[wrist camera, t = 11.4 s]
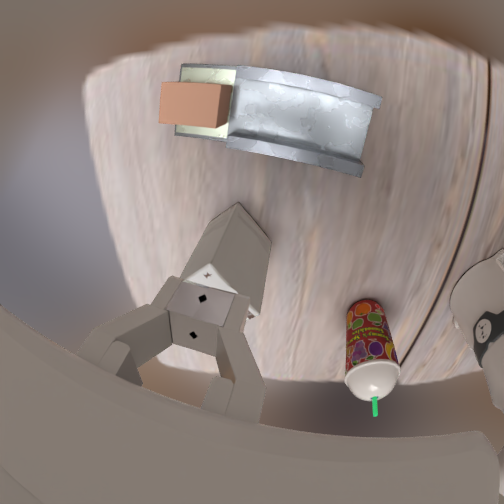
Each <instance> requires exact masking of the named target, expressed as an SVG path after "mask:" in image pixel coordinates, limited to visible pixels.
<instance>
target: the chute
mask: <svg viewBox="0 0 504 504" xmlns="http://www.w3.org/2000/svg"><path fill="white" fill-rule="evenodd" d="M179 82H198V83H214V84H225V85H232V88H231V95H230V103H229V110H228V117H227V124H225V125H222V126H220V127H218V128H216V129H214V128H206V127H197V126H187V125H176V124H175V136H185V137H193V138H202V139H209V140H217V141H224V142H226V148H231V149H237V150H243V151H248V152H254V153H259V154H265V155H270V156H275V157H280V158H284V159H289V160H293V161H298V162H302V163H307V164H311V165H315V166H319V167H323V168H327V169H331V170H335V171H338V172H342V173H346V174H349V175H353V176H356V177H360V178H361V176H362V173H363V169H364V165H363V163H362V162H361V161H360V157H361V154H362V150H363V146H364V143H365V139H366V135H367V131H368V127H369V123H370V119H371V115H372V111H373V107H374V108H377V109H380V105H381V100H382V97H381V96H378V95H375V94H372V93H369V92H366V91H363V90H360V89H356V88H353V87H350V86H346V85H343V84H339V83H335V82H331V81H327V80H323V79H319V78H315V77H310V76H306V75H301V74H296V73H290V72H285V71H279V70H272V69H266V68H258V67H250V66H241V65H237V66H225V65H208V64H181V70H180V79H179Z"/></svg>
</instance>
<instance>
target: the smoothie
mask: <svg viewBox="0 0 504 504" xmlns="http://www.w3.org/2000/svg"><path fill="white" fill-rule="evenodd" d="M346 318H347V331H346V371H345V383H346V385H347V386H348V387H349V388H350V390H351V392H352V393H353V394H354V395H355V396H356V397H358V398H359V399H362V400H366V401H372V402H373V416H377V415H378V412H377V400H379V399H381V398H383V397H385V396H386V395H387V394H389V393H390V392H391V391H392V389H393V388H394V386H395V384H396V381H397V378H398V377H399V375H400V372H401V370H400V366H399V363H398V359H397V355H396V351H395V348H394V344H393V340H392V337H391V333H390V330H389V326H388V323H387V320H386V316H385V313H384V310H383V308H382V307H381V306H380V305H379V304H378V303H377V302H375V301H373V300H362V301H359V302H357V303H355V304H354V305H353V306H352V307H351V308H350V311H349V312H348V314H347V317H346Z"/></svg>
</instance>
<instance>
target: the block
mask: <svg viewBox="0 0 504 504" xmlns="http://www.w3.org/2000/svg"><path fill="white" fill-rule="evenodd" d="M231 88H232V85H225V84H214V83H198V82H162V86H161V97H160V111H159V123H163V124H176V125H187V126H197V127H206V128H214V129H216V128H218V127H220V126H222V125H225V124H227V117H228V110H229V103H230V95H231Z"/></svg>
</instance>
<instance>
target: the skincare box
mask: <svg viewBox="0 0 504 504" xmlns="http://www.w3.org/2000/svg"><path fill="white" fill-rule="evenodd" d="M271 244H272V242H271V241H270V240H269V238H268V237H267V236H266V235H265V233H264V232H263V231H262V230H261V229H260V227H259V226H258V225H257V224H256V223H255V221H254V220H253V219H252V218H251V217H250V215H249V214H248V213H247V212H246V211H245V210H244V209H243V207H242V206H241V205H240V203H237V204H235V205H234V206H232V207H231V208H229V209H228V210H226V211H225V212H224V213H222V214H221V215H219V216H218V217H216V218H215V219H214V220H212V221H211V222H210V223H209V224H208V226H207V228H206V229H205V231H204V233H203V235H202V237H201V239H200V240H199V242H198V244H197V246H196V248H195V250H194V251H193V253H192V255H191V257H190V259H189V261H188V263H187V264H186V266H185V268H184V270H183V272H182V274H181V276H180V278H181V279H185V280H188V281H192V282H195V283H198V284H202V285H205V286H208V287H213V288H217V289H221V290H225V291H229V292H233V293H236V294H241V295H245V296H249V297H251V298H250V304H249V309H248V314H247V319H246V321H247V320H249V319H251V318H253V317H256V316H258V315H260V311H261V305H262V299H263V293H264V287H265V281H266V275H267V269H268V263H269V256H270V250H271Z"/></svg>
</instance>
